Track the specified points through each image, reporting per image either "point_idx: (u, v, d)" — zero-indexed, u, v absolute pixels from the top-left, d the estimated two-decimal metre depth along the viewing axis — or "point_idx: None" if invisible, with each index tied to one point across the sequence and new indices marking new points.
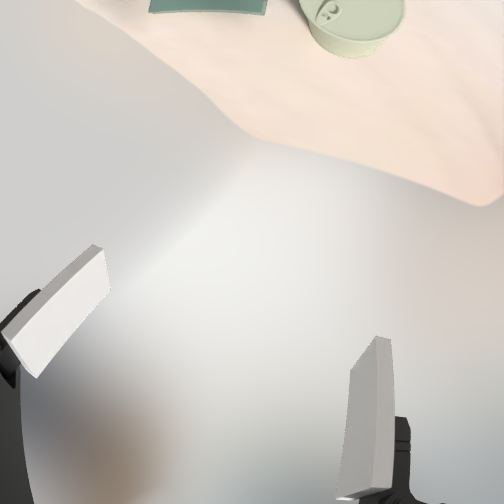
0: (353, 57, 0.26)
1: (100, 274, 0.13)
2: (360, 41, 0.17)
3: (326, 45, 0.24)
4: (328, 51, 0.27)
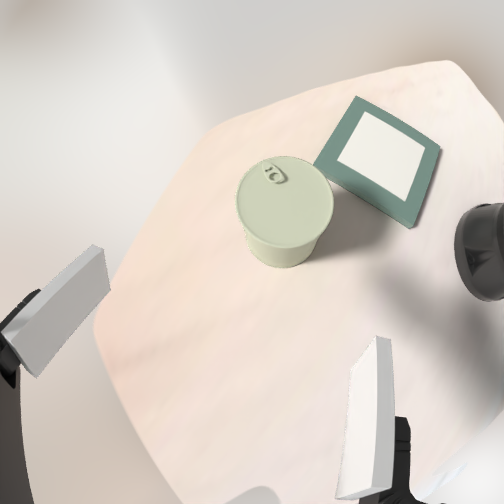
0: None
1: (100, 274, 0.13)
2: (237, 189, 0.26)
3: None
4: None
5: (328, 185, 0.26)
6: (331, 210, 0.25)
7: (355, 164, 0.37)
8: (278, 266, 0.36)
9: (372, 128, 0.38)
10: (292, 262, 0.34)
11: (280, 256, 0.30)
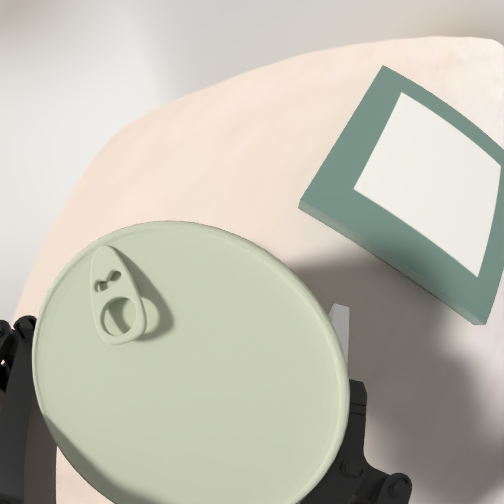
0: None
1: None
2: (34, 339, 0.07)
3: None
4: None
5: (336, 354, 0.06)
6: (332, 449, 0.06)
7: (391, 198, 0.17)
8: None
9: (418, 124, 0.18)
10: None
11: None
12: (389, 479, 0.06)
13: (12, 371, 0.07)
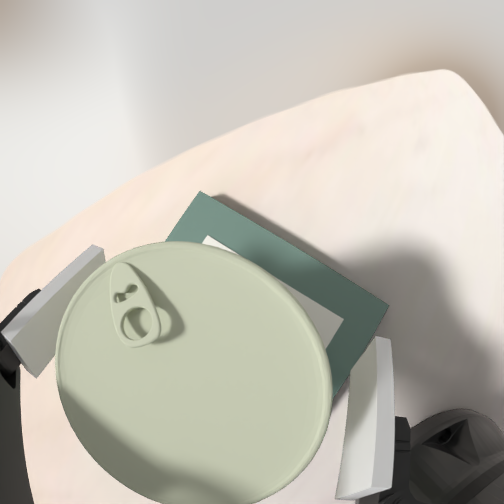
0: None
1: None
2: (57, 343, 0.08)
3: None
4: None
5: (320, 354, 0.07)
6: (318, 435, 0.07)
7: None
8: None
9: None
10: None
11: None
12: None
13: None
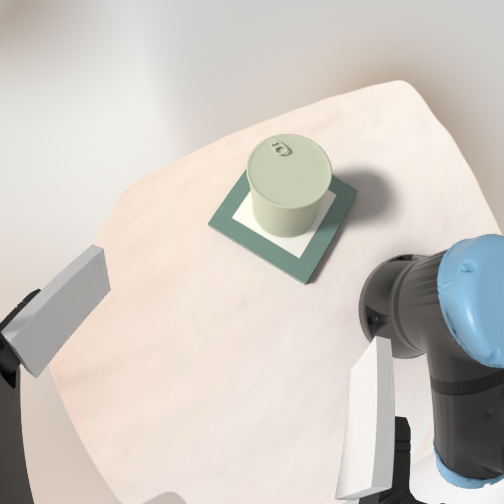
0: None
1: (100, 274, 0.13)
2: (248, 160, 0.30)
3: None
4: None
5: (326, 157, 0.30)
6: (330, 177, 0.29)
7: (250, 221, 0.41)
8: (282, 235, 0.39)
9: None
10: (295, 230, 0.37)
11: (285, 221, 0.33)
12: None
13: None
